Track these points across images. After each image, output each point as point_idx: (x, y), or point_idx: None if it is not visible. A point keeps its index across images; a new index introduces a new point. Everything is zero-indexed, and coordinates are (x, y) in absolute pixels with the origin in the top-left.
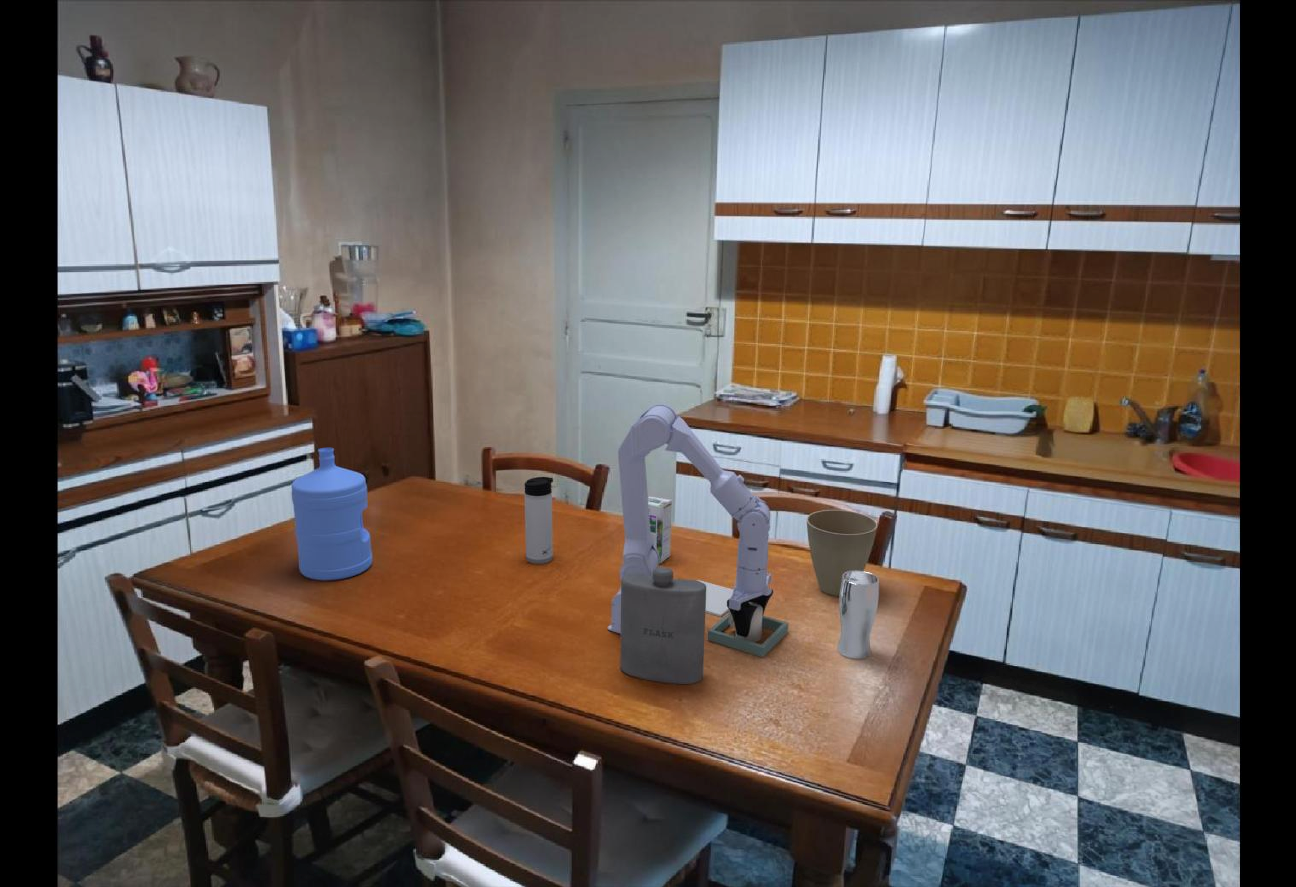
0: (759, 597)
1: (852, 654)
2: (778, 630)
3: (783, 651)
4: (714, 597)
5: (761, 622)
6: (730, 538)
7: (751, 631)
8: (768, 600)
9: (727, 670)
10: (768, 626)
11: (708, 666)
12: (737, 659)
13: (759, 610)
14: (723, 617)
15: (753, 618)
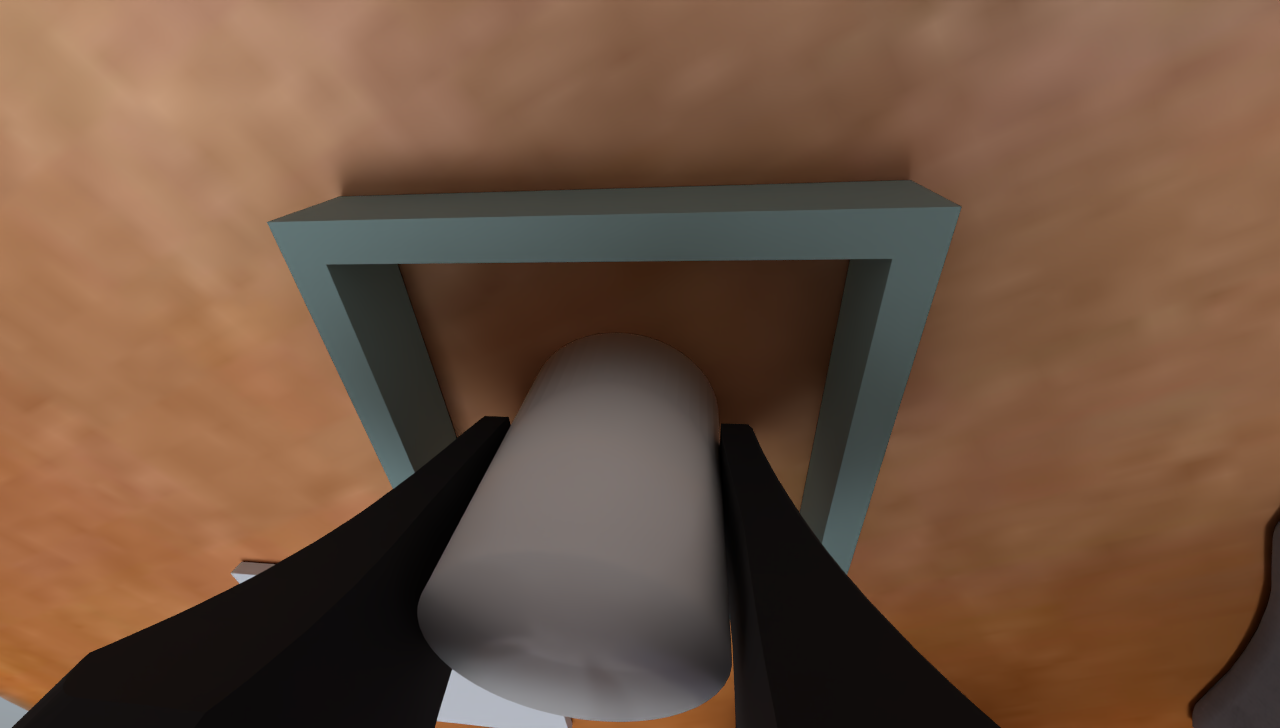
0: (345, 709)
1: None
2: (481, 239)
3: (678, 51)
4: None
5: (571, 429)
6: (9, 696)
7: (698, 431)
8: (253, 584)
9: (1251, 345)
10: (417, 357)
11: (1192, 468)
12: (1017, 350)
13: (545, 574)
14: None
15: (689, 539)
